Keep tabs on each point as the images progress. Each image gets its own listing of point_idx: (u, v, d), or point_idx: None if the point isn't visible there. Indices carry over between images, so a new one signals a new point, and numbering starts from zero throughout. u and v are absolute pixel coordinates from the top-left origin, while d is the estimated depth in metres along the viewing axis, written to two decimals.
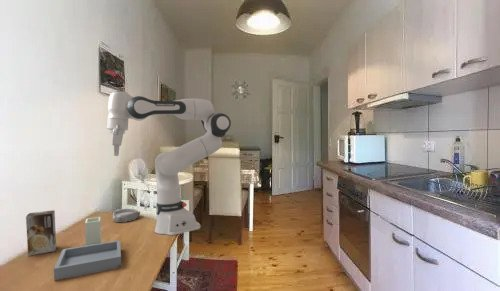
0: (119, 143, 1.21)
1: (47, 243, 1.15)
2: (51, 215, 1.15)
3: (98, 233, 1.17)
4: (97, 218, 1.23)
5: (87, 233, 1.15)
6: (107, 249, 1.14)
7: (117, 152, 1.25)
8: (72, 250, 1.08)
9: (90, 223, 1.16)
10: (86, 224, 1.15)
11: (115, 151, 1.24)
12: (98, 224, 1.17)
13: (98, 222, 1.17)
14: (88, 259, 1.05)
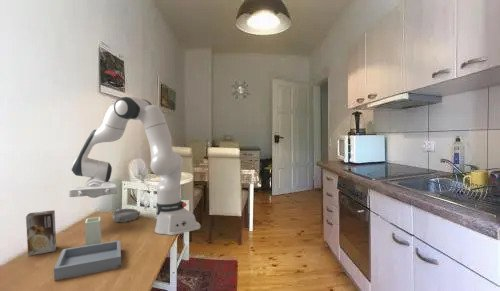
0: (69, 190, 1.30)
1: (47, 243, 1.15)
2: (51, 215, 1.15)
3: (98, 233, 1.17)
4: (97, 218, 1.23)
5: (87, 233, 1.15)
6: (107, 249, 1.14)
7: (79, 193, 1.28)
8: (72, 250, 1.08)
9: (90, 223, 1.16)
10: (86, 224, 1.15)
11: (79, 194, 1.29)
12: (98, 224, 1.17)
13: (98, 222, 1.17)
14: (88, 259, 1.05)
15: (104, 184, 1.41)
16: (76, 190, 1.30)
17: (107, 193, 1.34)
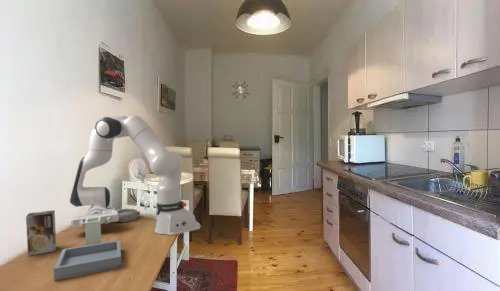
0: (71, 220, 1.31)
1: (47, 243, 1.15)
2: (51, 215, 1.15)
3: (98, 233, 1.17)
4: (97, 218, 1.23)
5: (87, 233, 1.15)
6: (107, 249, 1.14)
7: None
8: (72, 250, 1.08)
9: (90, 223, 1.16)
10: (86, 224, 1.15)
11: None
12: (98, 224, 1.17)
13: (98, 222, 1.17)
14: (88, 259, 1.05)
15: (106, 211, 1.42)
16: (78, 220, 1.31)
17: (109, 221, 1.35)
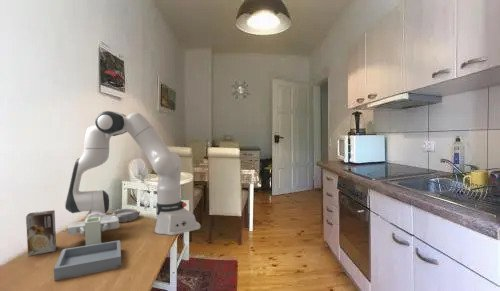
0: (67, 228, 1.20)
1: (47, 243, 1.15)
2: (51, 215, 1.15)
3: (98, 233, 1.17)
4: (97, 218, 1.23)
5: (87, 233, 1.15)
6: (107, 249, 1.14)
7: (82, 230, 1.19)
8: (72, 250, 1.08)
9: (90, 223, 1.16)
10: (86, 224, 1.15)
11: (81, 232, 1.19)
12: (98, 224, 1.17)
13: (98, 222, 1.17)
14: (88, 259, 1.05)
15: (105, 217, 1.31)
16: (75, 227, 1.20)
17: (105, 229, 1.23)
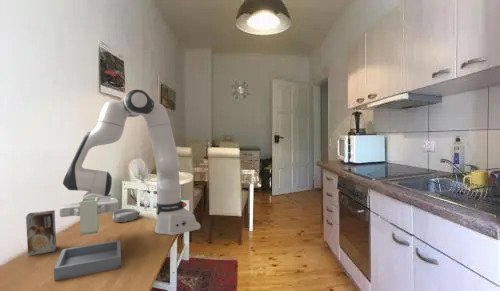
0: (60, 209, 1.05)
1: (47, 243, 1.15)
2: (51, 215, 1.15)
3: (95, 214, 1.02)
4: (94, 198, 1.08)
5: (82, 214, 1.01)
6: (107, 249, 1.14)
7: (76, 211, 1.04)
8: (72, 250, 1.08)
9: (85, 203, 1.01)
10: (81, 204, 1.00)
11: (76, 213, 1.04)
12: (95, 204, 1.02)
13: (95, 202, 1.02)
14: (88, 259, 1.05)
15: (103, 198, 1.16)
16: (68, 208, 1.05)
17: (103, 211, 1.08)
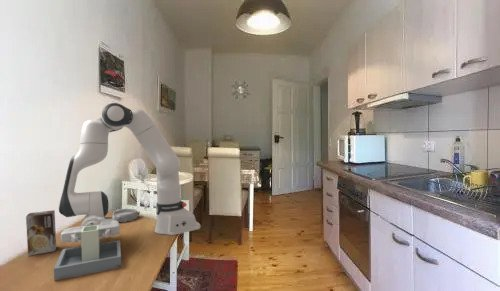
0: None
1: (47, 243, 1.15)
2: (51, 215, 1.15)
3: (96, 244, 1.02)
4: (95, 226, 1.08)
5: (83, 244, 1.01)
6: (107, 249, 1.14)
7: None
8: (72, 250, 1.08)
9: (87, 233, 1.01)
10: (82, 234, 1.00)
11: (73, 240, 1.03)
12: (96, 234, 1.02)
13: (96, 231, 1.02)
14: None
15: (104, 221, 1.16)
16: (69, 234, 1.05)
17: (107, 235, 1.09)
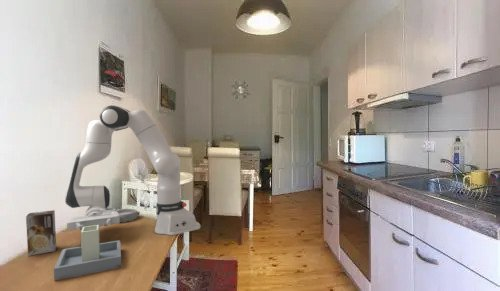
0: (67, 223, 1.18)
1: (47, 243, 1.15)
2: (51, 215, 1.15)
3: (96, 244, 1.02)
4: (95, 226, 1.08)
5: (83, 244, 1.01)
6: (107, 249, 1.14)
7: (78, 226, 1.16)
8: (72, 250, 1.08)
9: (87, 233, 1.01)
10: (82, 234, 1.00)
11: None
12: (96, 234, 1.02)
13: (96, 231, 1.02)
14: None
15: (105, 212, 1.29)
16: (74, 222, 1.18)
17: (109, 224, 1.22)
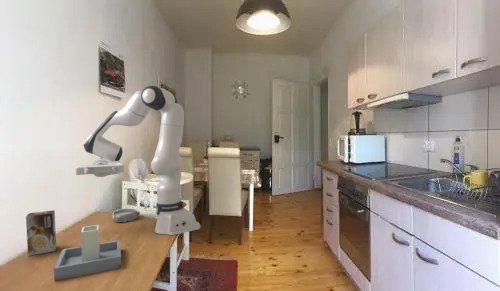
0: None
1: (47, 243, 1.15)
2: (51, 215, 1.15)
3: (96, 244, 1.02)
4: (95, 226, 1.08)
5: (83, 244, 1.01)
6: (107, 249, 1.14)
7: (86, 170, 1.25)
8: (72, 250, 1.08)
9: (87, 233, 1.01)
10: (82, 234, 1.00)
11: (86, 172, 1.26)
12: (96, 234, 1.02)
13: (96, 231, 1.02)
14: None
15: (111, 163, 1.38)
16: (82, 168, 1.27)
17: (114, 170, 1.31)
